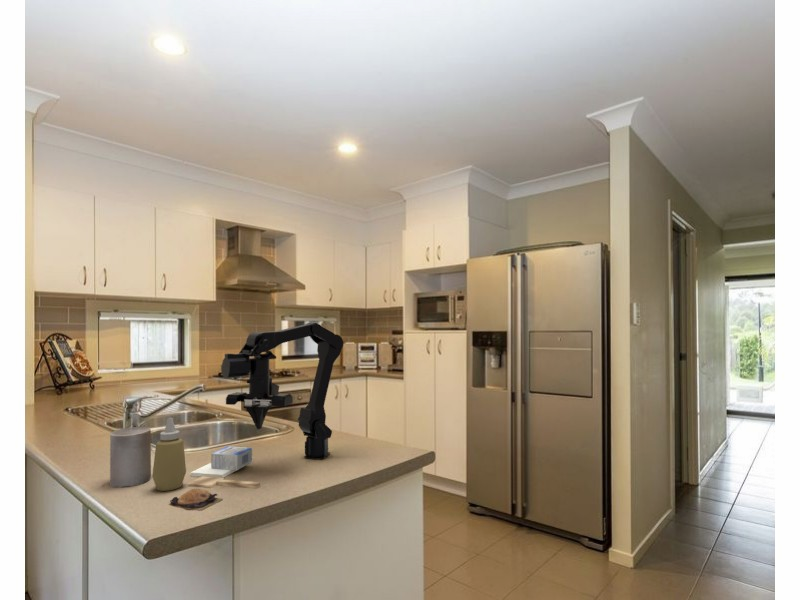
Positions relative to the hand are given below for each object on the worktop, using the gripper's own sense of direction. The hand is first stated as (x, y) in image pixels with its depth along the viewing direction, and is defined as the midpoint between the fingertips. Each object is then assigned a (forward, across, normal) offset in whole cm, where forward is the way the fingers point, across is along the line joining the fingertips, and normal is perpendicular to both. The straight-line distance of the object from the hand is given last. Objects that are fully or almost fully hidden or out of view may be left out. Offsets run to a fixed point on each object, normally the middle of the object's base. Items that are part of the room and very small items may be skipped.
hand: (259, 428), depth 137 cm
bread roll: (+13, +3, +25) cm, 28 cm away
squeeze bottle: (+12, +16, +18) cm, 27 cm away
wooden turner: (+12, +2, +12) cm, 17 cm away
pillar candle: (+12, +30, +16) cm, 36 cm away
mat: (+12, +11, 0) cm, 16 cm away
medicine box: (+9, +4, 0) cm, 10 cm away
